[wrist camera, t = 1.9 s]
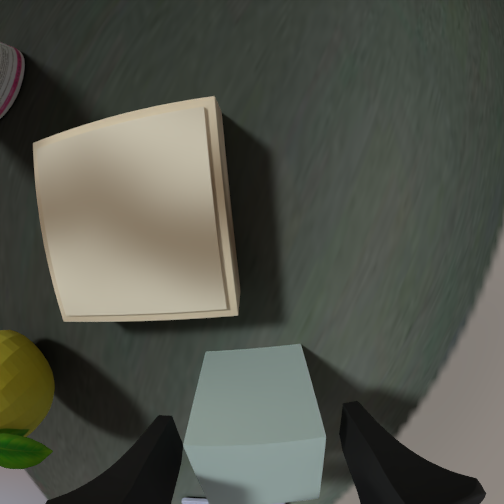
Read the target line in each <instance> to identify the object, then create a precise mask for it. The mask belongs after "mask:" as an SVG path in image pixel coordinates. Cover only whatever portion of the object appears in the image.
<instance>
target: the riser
mask: <svg viewBox="0 0 504 504" xmlns="http://www.w3.org/2000/svg"><path fill="white" fill-rule="evenodd" d="M33 158H34V173H35V185H36V194H37V203H38V210H39V217H40V224H41V230H42V236H43V241H44V246H45V251H46V256H47V261H48V265H49V270H50V274H51V278H52V282H53V286H54V290H55V293H56V297H57V301H58V304H59V307H60V311H61V314H62V317H63V320H64V322H122V321H156V320H179V319H197V318H213V317H227V316H238V312H239V302H240V291H241V290H240V282H239V273H238V264H237V255H236V246H235V237H234V228H233V219H232V210H231V200H230V191H229V181H228V171H227V162H226V151H225V141H224V131H223V120H222V112H221V110H220V107H219V105H218V103H217V101H216V99H215V96H212V97H205V98H199V99H192V100H186V101H180V102H175V103H169V104H164V105H159V106H155V107H150V108H145V109H141V110H137V111H132V112H128V113H124V114H120V115H117V116H113V117H109V118H106V119H102V120H99V121H95V122H92V123H89V124H85V125H82V126H79V127H76V128H73V129H70V130H67V131H64V132H61V133H58V134H55V135H53V136H50V137H47V138H45V139H42V140H39V141H37V142H34V143H33Z"/></svg>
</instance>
